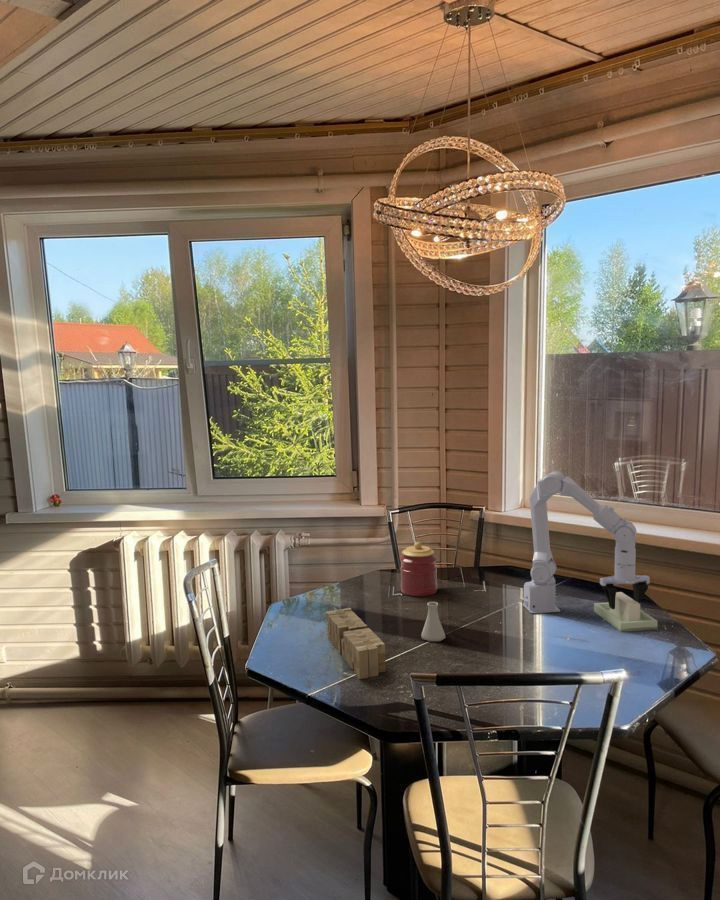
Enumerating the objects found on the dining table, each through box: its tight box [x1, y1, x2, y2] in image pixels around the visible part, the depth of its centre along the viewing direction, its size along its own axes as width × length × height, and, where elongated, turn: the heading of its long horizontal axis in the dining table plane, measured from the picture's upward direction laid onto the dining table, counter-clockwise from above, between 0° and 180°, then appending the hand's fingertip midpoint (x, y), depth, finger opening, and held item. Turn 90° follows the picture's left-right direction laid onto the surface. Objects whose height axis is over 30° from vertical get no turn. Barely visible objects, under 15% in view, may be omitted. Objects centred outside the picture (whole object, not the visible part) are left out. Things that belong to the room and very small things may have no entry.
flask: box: [420, 601, 447, 642], centre depth 180 cm, size 7×7×10 cm
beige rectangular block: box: [610, 591, 641, 622], centre depth 189 cm, size 4×11×6 cm, turn 5°
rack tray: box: [593, 601, 659, 633], centre depth 189 cm, size 11×17×2 cm, turn 5°
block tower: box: [325, 607, 387, 680], centre depth 171 cm, size 8×8×29 cm
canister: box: [399, 541, 438, 597], centre depth 221 cm, size 13×13×18 cm
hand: (624, 607), depth 189 cm, fingers open, 7 cm apart
